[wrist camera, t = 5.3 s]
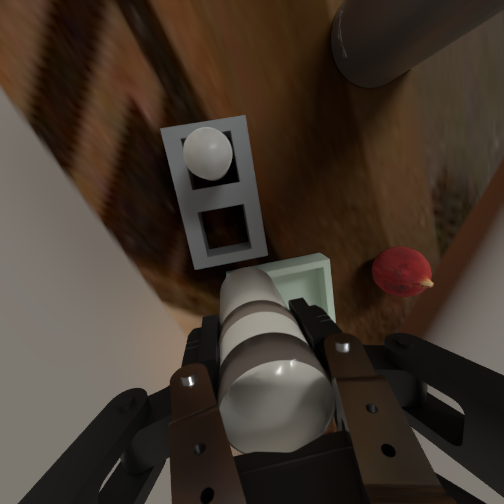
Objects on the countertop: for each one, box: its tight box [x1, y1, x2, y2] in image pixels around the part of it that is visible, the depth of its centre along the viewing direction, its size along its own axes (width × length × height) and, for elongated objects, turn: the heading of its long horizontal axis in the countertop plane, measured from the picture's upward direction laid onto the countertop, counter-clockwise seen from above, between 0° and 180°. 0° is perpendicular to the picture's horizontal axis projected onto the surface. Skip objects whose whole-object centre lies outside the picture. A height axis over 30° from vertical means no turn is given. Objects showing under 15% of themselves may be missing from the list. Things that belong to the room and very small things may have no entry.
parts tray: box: [226, 253, 336, 323], centre depth 31 cm, size 12×10×3 cm
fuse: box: [183, 127, 232, 181], centre depth 24 cm, size 4×4×9 cm
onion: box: [371, 247, 434, 297], centre depth 29 cm, size 6×6×8 cm
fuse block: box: [160, 115, 268, 270], centre depth 27 cm, size 8×14×4 cm, turn 10°
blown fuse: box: [218, 267, 336, 454], centre depth 12 cm, size 4×4×9 cm
